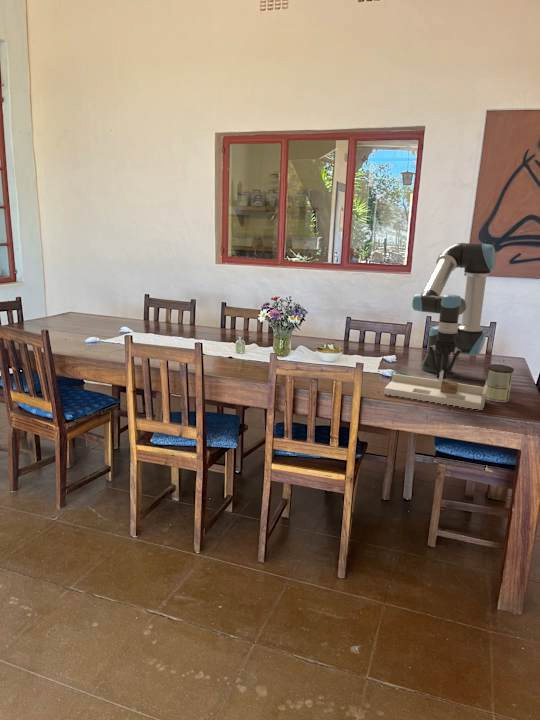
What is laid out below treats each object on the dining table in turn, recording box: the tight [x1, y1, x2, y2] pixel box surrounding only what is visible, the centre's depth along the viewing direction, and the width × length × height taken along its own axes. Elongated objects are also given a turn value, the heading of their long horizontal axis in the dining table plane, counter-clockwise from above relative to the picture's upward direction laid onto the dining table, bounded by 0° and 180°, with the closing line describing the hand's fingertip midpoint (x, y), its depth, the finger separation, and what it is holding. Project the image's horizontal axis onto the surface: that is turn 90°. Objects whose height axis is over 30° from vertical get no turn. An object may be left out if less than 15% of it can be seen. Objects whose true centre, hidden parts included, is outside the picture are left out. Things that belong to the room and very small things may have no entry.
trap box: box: [383, 373, 488, 411], centre depth 224 cm, size 15×40×7 cm, turn 65°
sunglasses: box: [389, 370, 411, 382], centre depth 244 cm, size 14×15×5 cm
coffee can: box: [485, 364, 515, 403], centre depth 225 cm, size 10×10×14 cm
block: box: [441, 379, 459, 394], centre depth 223 cm, size 5×6×4 cm
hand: (440, 385), depth 225 cm, fingers closed
